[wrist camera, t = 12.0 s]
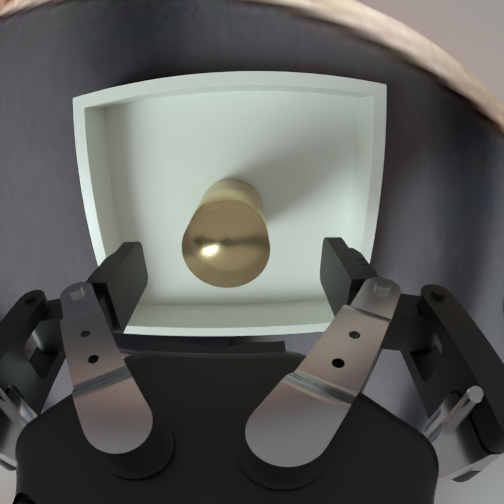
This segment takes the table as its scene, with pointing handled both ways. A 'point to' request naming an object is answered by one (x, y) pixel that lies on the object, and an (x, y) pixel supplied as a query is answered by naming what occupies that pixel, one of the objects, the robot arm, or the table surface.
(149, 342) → the calculator
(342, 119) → the tray
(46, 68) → the table surface
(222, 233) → the cylinder
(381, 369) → the table surface
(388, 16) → the table surface
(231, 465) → the robot arm
